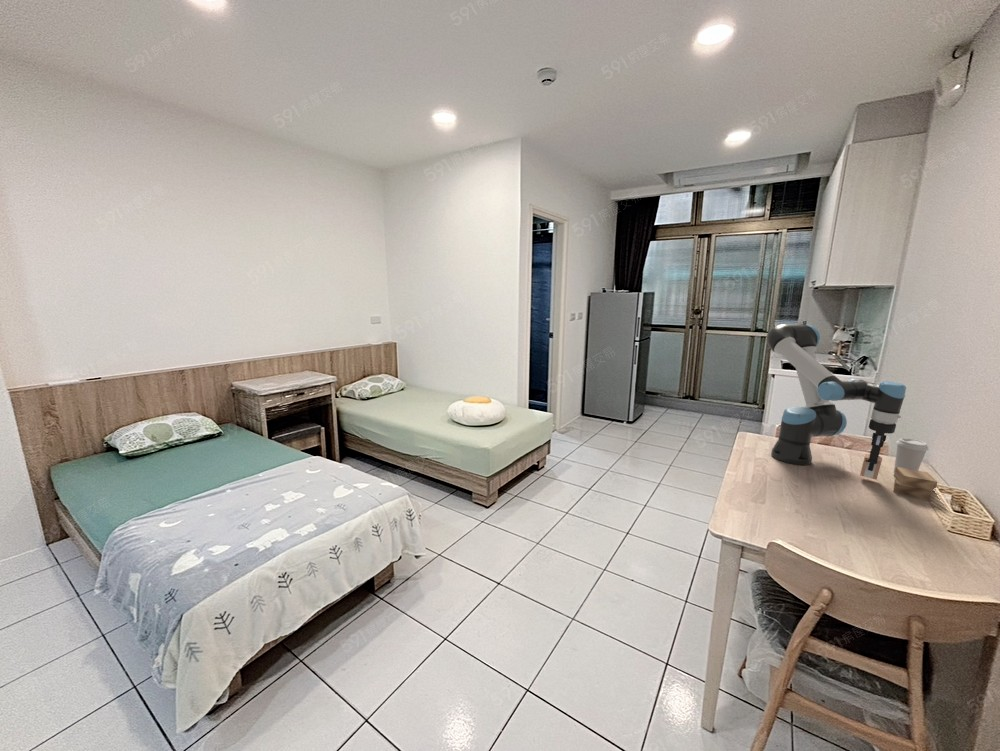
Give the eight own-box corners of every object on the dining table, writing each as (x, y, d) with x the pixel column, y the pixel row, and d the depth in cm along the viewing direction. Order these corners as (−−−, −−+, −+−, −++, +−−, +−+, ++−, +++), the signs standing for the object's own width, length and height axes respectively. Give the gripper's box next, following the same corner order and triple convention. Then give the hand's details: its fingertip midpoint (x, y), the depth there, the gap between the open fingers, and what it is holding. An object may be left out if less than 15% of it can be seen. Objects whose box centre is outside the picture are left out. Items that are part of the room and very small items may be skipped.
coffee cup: (906, 470, 173) (915, 437, 169) (927, 480, 163) (936, 446, 160) (882, 468, 173) (890, 436, 170) (902, 479, 164) (910, 445, 161)
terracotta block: (859, 475, 162) (864, 457, 160) (861, 471, 166) (865, 453, 164) (876, 479, 159) (881, 461, 157) (877, 475, 162) (882, 457, 160)
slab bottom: (893, 492, 154) (895, 483, 153) (893, 484, 161) (896, 475, 160) (928, 502, 148) (931, 492, 147) (927, 493, 154) (930, 483, 153)
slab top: (901, 485, 151) (904, 475, 151) (893, 475, 159) (896, 466, 158) (934, 491, 147) (937, 481, 146) (924, 481, 155) (927, 472, 154)
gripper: (895, 429, 148) (879, 486, 154) (897, 418, 160) (882, 470, 166) (868, 424, 153) (854, 478, 159) (872, 413, 165) (858, 464, 171)
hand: (868, 474), depth 162 cm, fingers closed on terracotta block, 5 cm apart
